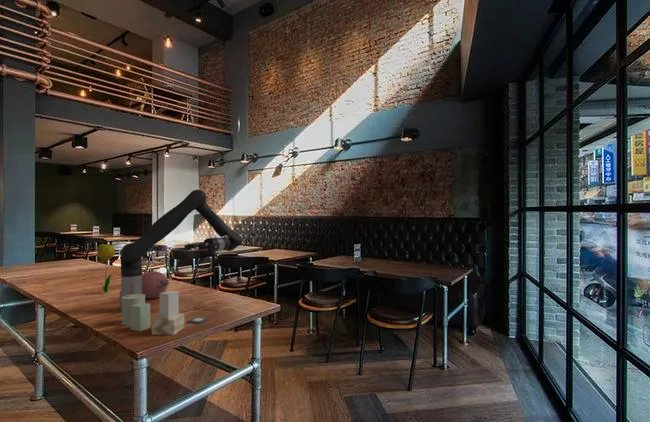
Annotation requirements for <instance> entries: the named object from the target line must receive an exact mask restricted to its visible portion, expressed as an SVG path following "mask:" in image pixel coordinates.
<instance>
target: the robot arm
mask: <svg viewBox="0 0 650 422" xmlns="http://www.w3.org/2000/svg"><path fill="white" fill-rule="evenodd" d="M194 210H195V211H196V212H197V213H199V214H200V216H202V217H203V219H205V220H206V221H207V223H208V224H209V226H210V227H211V228H212V229H213V230H214V231H215V232H216V234H217V236H219V237H209V238H205V239H204V241H200V242H193V243H187V244H185V245H184V246H183V247H184V250H195V251H204V252H206V253H208V254H211V253H216V252H221V251H226V252H231V251H234V250H235V249H237V247H239V246H240V245H242V243H243V239H242V236H240V234H238V233H237V232H236V231H234V230H232V229H231V228H230V227H229V226H228V225H227V223H225V221H224V220H223V219H222V217H220V216H219V214H217V213H215V212H214V211H213V210H212V209H211V207H210V206H209V204H208V202H207V195H206V192H205V191H204V190H201V189H194V190H192V191H190V193H189V194H188V195H186V197H185V198H184V199H183V200H182V201H181V202H180V203H178V204H177V205H176V206H174V207H173V208H171V209H170V210H168V211H167V212H166V213H164V214H163V215H162V216H161V217H159V218H158V219H157V220H156V221H154V223H153V224H151V226H150V227H149V228H148V229H147V231H145V233H144V234H143V235H141V236H140V237H139V238H137V239H135V241H133V242H131V243H126V244H125V245H124V246H123V247H121V250H120V290H119V307H118V308H119V311H120V312H122V297H123V296H126V295H131V294H142V275H143V266H142V258H143V257H144V256H145V255H146V254H147V253H148V252H149V251H150V250H151V249H152V248H153V247H154V246H155V245H157V244H158V243H159V242H161V240H163V239H165V238H166V237H167V236H168V235H169V234H171V233H172V232H173V231H174V230H176V229H177V228H178V226H179V225H181V224H182V223H183V221H184V220H185V219H186V218H187V217H188V215H190V214H191V213H192V212H194ZM226 236H227V237H226Z"/></svg>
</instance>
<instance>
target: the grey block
mask: <svg viewBox="0 0 650 422" xmlns="http://www.w3.org/2000/svg"><path fill="white" fill-rule="evenodd" d="M179 293H180V292H179V291H175V290H174V291H173V290H168V291H165V292H163V293H160V296H159V316H160V318H164V319H171V318H174V317H177V316H178V314H180V313H179V310H180V309H179V303H180V302H179V301H180V298H179V297H180V294H179Z"/></svg>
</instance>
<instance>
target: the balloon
mask: <svg viewBox="0 0 650 422" xmlns="http://www.w3.org/2000/svg"><path fill="white" fill-rule="evenodd" d="M169 284H170V281H169V279H168V278H167V277H166V275H164V274H163V273H162V272H161V271H156V270H152V271H151V270H150V271H148V272H145V273H144V274H142V294H144V295H145V299H156V298H160V293H163V292H166V290H167V288H168V285H169Z"/></svg>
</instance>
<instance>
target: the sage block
mask: <svg viewBox="0 0 650 422" xmlns="http://www.w3.org/2000/svg"><path fill="white" fill-rule="evenodd" d="M149 328H151V303H149V302H147V303H146V302H145V303H139V304H135V305H132V306H131V325H130V330H131V331H136V332H142V331H145V330H147V329H149Z"/></svg>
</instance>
